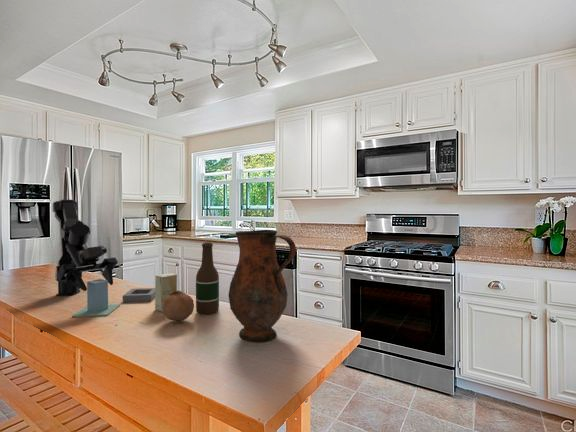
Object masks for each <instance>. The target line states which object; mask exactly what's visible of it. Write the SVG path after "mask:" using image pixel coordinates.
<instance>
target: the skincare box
mask: <svg viewBox="0 0 576 432" xmlns="http://www.w3.org/2000/svg"><path fill="white" fill-rule="evenodd" d="M154 280H155V281H154V282H155V286H154V288H155V298H154V300H155V301H154V303H155V304H154V309H155V310H156V311H159V312H163V310H162V305H163V302H164V300H165V299H166V298H167V297H168V296H169V294H170V293H173V292H174V291H178V285H177V284H178V274H176V273H172V272H169V273H162V274H157V275H155V279H154Z"/></svg>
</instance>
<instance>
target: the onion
mask: <svg viewBox="0 0 576 432" xmlns="http://www.w3.org/2000/svg"><path fill="white" fill-rule="evenodd" d="M194 309H195V303H194V299H193V298H192V296H191V295H190V294H189V295H188V294H187V293H185V292H183V291H182V290H177V291H174V292H173V293H170V294H169V296H168V297H167V298H166V299H165V300H164V302H163V305H162V310H163V311H162V313H163V315H164V317H165V318H166V319H168V320H170V321H174V322H177V323H181V322H184V321H185V320H187V319H188V317H190V316H191V315H193V311H194Z"/></svg>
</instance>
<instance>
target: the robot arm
mask: <svg viewBox="0 0 576 432" xmlns="http://www.w3.org/2000/svg"><path fill="white" fill-rule="evenodd" d="M78 205H79V204H78V202H77V201H76V200H75V199H60V200H56V201H54V202H52V205H51V206H52V207H51V209H52V213H54V218H55V219H56V220H57V221H58V223H59V232H60V245H61V247H60V248H61V249H60V250H61V251H60V253H61V257H60V258H59V260H58V262H57V265H55V273H54V279H55V282H57V292H58V293H56V294H55V296H73V295H76V294H77V293H79V292H81V291H83V292H87V284H86V283H85V281H84V279H82V278H83V272H84V273H85V272H91V271H97V270H98V271H99V272H100V273H101V276H102V277H103V278H104V280H108V285H111V286H112V285H113V284H114V277H113V276H114V275H113V271H114V269H115V267H116V266H117V264H118V263H119V261H118V260H117V258H116V257H108V258H107V257H106V258H103V260H102V262H99V261H100V257H101V256H104V255H105V254H107V253H108V248H107V247H106V246H105V245H104V244H99V245H98V246H91V247H88V246H87V243H88V240H89V235H91V229H90V227H89V225H87V224H85V223H84V222H83V221H81V220H79V215H78V212H79V207H78ZM97 262H99V263H97Z"/></svg>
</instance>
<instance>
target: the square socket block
mask: <svg viewBox="0 0 576 432" xmlns="http://www.w3.org/2000/svg"><path fill="white" fill-rule="evenodd" d="M153 300H155V287H150V288H149V287H143V288H142V287H141V288H140V287H139V288H131V289H129V290H128V291H126V293H124V294H123V295H122V303H138V302H139V303H140V302H142V303H144V302H153Z"/></svg>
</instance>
